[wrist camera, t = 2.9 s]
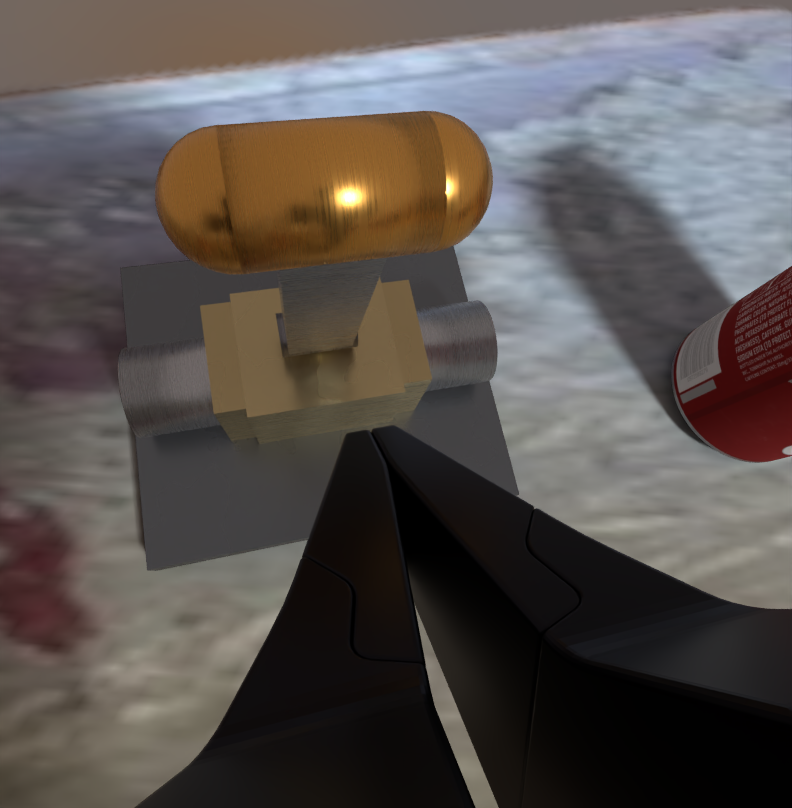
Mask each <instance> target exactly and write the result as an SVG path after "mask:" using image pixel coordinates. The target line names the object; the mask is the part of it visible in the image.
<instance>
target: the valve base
mask: <svg viewBox="0 0 792 808" xmlns="http://www.w3.org/2000/svg"><path fill="white" fill-rule="evenodd" d="M120 270H121V281H122V292H123V303H124V315H125V326H126V337H127V348H123V349H122V350H121V351H120V354H119V358H118V381H119V389H120V395H121V400H122V404H123V408H124V411H125V414H126V417H127V420H128V422H129V425H130V427H131V429H132V430H133V432H134V433H135V438H136V450H137V461H138V472H139V483H140V495H141V506H142V517H143V528H144V540H145V551H146V562H147V570H154V571H157V570H162V569H167V568H172V567H176V566H181V565H186V564H191V563H196V562H201V561H206V560H211V559H216V558H220V557H225V556H230V555H235V554H240V553H245V552H250V551H255V550H259V549H264V548H269V547H274V546H279V545H284V544H289V543H294V542H299V541H303V540H308V538H309V535H310V533H311V530H312V527H313V524H314V521H315V518H316V516H317V513H318V510H319V507H320V504H321V501H322V499H323V496H324V493H325V490H326V487H327V484H328V482H329V479H330V476H331V473H332V470H333V468H334V465H335V462H336V459H337V456H338V453H339V451H340V448H341V445H342V442H343V439H344V437H345V435H346V434H347V433H349V432H355V431H361V430H369V431H370V432H371V431H372V429H374V428H378V427H384V426H389V425H395V426H397V427H399V428H401V429H403V430H404V431H406V432H408V433H409V434H411V435H413V436H414V437H416V438H418V439H420V440H421V441H423V442H425V443H426V444H428V445H430V446H432V447H433V448H435V449H437V450H438V451H440V452H442V453H444V454H445V455H447V456H449V457H450V458H452V459H454V460H456V461H457V462H459V463H461V464H462V465H464V466H466V467H467V468H469V469H471V470H473V471H474V472H476V473H478V474H479V475H481V476H483V477H485V478H486V479H488V480H490V481H491V482H493V483H495V484H497V485H498V486H500V487H502V488H503V489H505V490H507V491H508V492H510V493H512V494H514V495H515V496H516V495H519V491H518V488H517V484H516V480H515V476H514V473H513V469H512V465H511V461H510V457H509V454H508V450H507V446H506V442H505V439H504V435H503V431H502V427H501V424H500V420H499V416H498V412H497V408H496V405H495V401H494V397H493V393H492V390H491V386H490V382H489V381H490V380H491V379H492V378H493V376H494V374H495V371H496V366H497V340H496V334H495V329H494V325H493V321H492V318H491V315H490V313H489V311H488V309H487V307H486V306H485V305H484V304H483V303H482V302H481V301H479V300H476V301H469V302H468V299H467V295H466V292H465V288H464V284H463V280H462V276H461V273H460V269H459V265H458V261H457V258H456V254H455V250H454V246H451V247H449V248H447V249H444V250H440V251H435V252H430V253H421V254H412V255H404V256H395V257H387V260H386V262H385V265H384V267H383V270H382V272H381V275H380V277H379V280H378V282H377V285H376V287H375V290H374V292H373V295H372V297H371V300H370V302H369V305H368V307H367V310H366V313H365V315H364V318H363V320H362V323H361V325H360V328H359V330H358V347H353V348H346V349H339V350H332V351H325V352H318V353H312V354H305V355H298V356H291V357H284V358H283V356H282V350H281V344H280V338H279V332H278V326H277V320H276V314H275V313H282V310H281V302H280V293H279V285H278V277H277V270H275V271H266V272H258V273H249V274H225V273H219V272H215V271H212V270H210V269H207V268H204V267H202V266H200V265H199V264H197V263H195V262H194V261H192V260H189V261H180V262H170V263H161V264H152V265H143V266H134V267H125V268H120Z"/></svg>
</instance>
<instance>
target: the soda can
mask: <svg viewBox="0 0 792 808" xmlns="http://www.w3.org/2000/svg"><path fill="white" fill-rule="evenodd" d="M671 383H672V390H673V394H674V398H675V401H676V404H677V406H678V408H679V411H680V412H681V414H682V416H683V418H684V419H685V421H686V423H687V424H688V425H689V427H690V428H691V429H692V430H693V431H694V433H695V434H696V435H697V436H698V437H699V438H700V439H701V440H702V441H704V442H705V443H706V444H707V445H709V446H710V447H711V448H713V449H714V450H716V451H718V452H720V453H721V454H723V455H726V456H728V457H730V458H733V459H736V460H740V461H745V462H755V463H759V462H768V461H773V460H777V459H781V458H785V457H789V456H792V266H791V267H790V268H788V269H786V270H785V271H783V272H782V273H780V274H779V275H777V276H776V277H774V278H773V279H771V280H770V281H768V282H767V283H765V284H763V285H762V286H760V287H759V288H757V289H756V290H754V291H753V292H751V293H750V294H748V295H747V296H745V297H744V298H742V299H740V300H739V301H737V302H736V303H734V304H733V305H731V306H730V307H728V308H727V309H725V310H724V311H722V312H721V313H719V314H717V315H716V316H714V317H713V318H711V319H710V320H708V321H707V322H705V323H704V324H702V325H701V326H699V327H698V328H696V329H694V330H693V331H692V332H690V333H689V334H688V335H687V336H686V337H685V338H684V339H683V341H682V342H681V343H680V345H679V347H678V348H677V350H676V353H675V355H674V359H673V362H672V368H671Z"/></svg>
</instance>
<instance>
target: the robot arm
mask: <svg viewBox="0 0 792 808" xmlns="http://www.w3.org/2000/svg"><path fill="white" fill-rule="evenodd" d="M414 603H415V605H414ZM415 606H416V608H417V611H418V613H419V616H420V618H421V620H422V623H423V625H424V628H425V630H426V633H427V635H428V637H429V640H430V642H431V645H432V647H433V649H434V652H435V654H436V657H437V659H438V662H439V664H440V666H441V669H442V671H443V674H444V676H445V679H446V681H447V683H448V686H449V688H450V691H451V693H452V696H453V698H454V700H455V703H456V705H457V708H458V710H459V712H460V715H461V717H462V720H463V722H464V725H465V727H466V729H467V732H468V734H469V737H470V739H471V742H472V744H473V746H474V749H475V751H476V754H477V756H478V759H479V761H480V763H481V766H482V768H483V771H484V773H485V775H486V778H487V780H488V783H489V785H490V788H491V790H492V792H493V795H494V797H495V800H496V802H497V805H498V807H499V808H792V609H765V608H757V607H750V606H745V605H741V604H737V603H733V602H730V601H727V600H724V599H721V598H718V597H715V596H713V595H711V594H708V593H706V592H704V591H701V590H699V589H697V588H695V587H693V586H691V585H689V584H686V583H684V582H682V581H680V580H678V579H676V578H674V577H672V576H669V575H667V574H665V573H663V572H661V571H659V570H657V569H654V568H652V567H650V566H648V565H646V564H644V563H642V562H640V561H637V560H635V559H633V558H631V557H629V556H627V555H625V554H622V553H620V552H618V551H616V550H614V549H612V548H610V547H608V546H606V545H604V544H602V543H600V542H598V541H596V540H594V539H592V538H590V537H588V536H586V535H584V534H582V533H580V532H578V531H577V530H575V529H573V528H571V527H569V526H568V525H566V524H564V523H562V522H560V521H559V520H557V519H555V518H553V517H552V516H550V515H548V514H546V513H545V512H543V511H541V510H540V509H537V508H536V509H534V507H533V506H532V505H531V504H529V503H527V502H526V501H524V500H522V499H520V498H519V497H517V496H515V495H514V494H512V493H510V492H508V491H507V490H505V489H503V488H502V487H500V486H498V485H497V484H495V483H493V482H491V481H490V480H488V479H486V478H485V477H483V476H481V475H479V474H478V473H476V472H474V471H473V470H471V469H469V468H467V467H466V466H464V465H462V464H461V463H459V462H457V461H456V460H454V459H452V458H450V457H449V456H447V455H445V454H444V453H442V452H440V451H438V450H437V449H435V448H433V447H432V446H430V445H428V444H426V443H425V442H423V441H421V440H420V439H418V438H416V437H414V436H413V435H411V434H409V433H408V432H406V431H404V430H403V429H401V428H399V427H397V426H395V425H389V426H384V427H378V428H374V429H372V431H371V432H370V431H369V430H361V431H355V432H349V433H347V434H346V435H345V437H344V439H343V442H342V445H341V448H340V451H339V453H338V456H337V459H336V462H335V465H334V468H333V470H332V473H331V476H330V479H329V482H328V484H327V487H326V490H325V493H324V496H323V499H322V501H321V504H320V507H319V510H318V513H317V516H316V518H315V521H314V524H313V527H312V530H311V533H310V535H309V538H308V541H307V544H306V547H305V550H304V552H303V555H302V559H301V560H300V563H299V566H298V569H297V571H296V574H295V577H294V580H293V582H292V584H291V587H290V589H289V592H288V594H287V597H286V599H285V602H284V604H283V606H282V608H281V610H280V612H279V614H278V616H277V618H276V620H275V622H274V624H273V626H272V628H271V630H270V632H269V634H268V636H267V638H266V640H265V642H264V644H263V646H262V647H261V649H260V651H259V653H258V655H257V657H256V659H255V660H254V662H253V664H252V666H251V668H250V670H249V672H248V673H247V675H246V677H245V679H244V681H243V683H242V685H241V686H240V688H239V690H238V692H237V694H236V696H235V698H234V699H233V701H232V703H231V705H230V707H229V709H228V711H227V712H226V714H225V716H224V718H223V720H222V721H221V723H220V725H219V727H218V728H217V730H216V732H215V733H214V735H213V736H212V738H211V739H210V740H209V742H208V743H207V744H206V746H205V747H204V748H203V750H202V751H201V752H200V753H199V755H198V756H197V757H196V758H195V759H194V760H193V761H192V762H191V763H190V764H189V765H188V766H187V767H186V768H184V769H183V770H182V771H181V772H179V773H178V774H177V775H176V776H174V777H173V778H172V779H170V780H169V781H168V782H167V783H165V784H164V785H163V786H162V787H160V788H159V789H158V790H156V791H155V792H154V793H153V794H151V795H150V796H149V797H147V798H146V799H145V800H144V801H142V802H141V803H140V804H138V805H137V806H136V807H135V808H475V805H474V803H473V800H472V798H471V795H470V793H469V790H468V788H467V785H466V783H465V780H464V778H463V776H462V773H461V771H460V768H459V766H458V763H457V761H456V758H455V756H454V753H453V751H452V748H451V746H450V743H449V741H448V738H447V736H446V733H445V731H444V728H443V726H442V723H441V721H440V718H439V716H438V713H437V711H436V708H435V706H434V701H433V697H432V693H431V689H430V684H429V680H428V675H427V670H426V664H425V658H424V653H423V648H422V642H421V637H420V632H419V626H418V621H417V616H416V610H415Z"/></svg>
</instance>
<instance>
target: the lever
mask: <svg viewBox="0 0 792 808" xmlns="http://www.w3.org/2000/svg"><path fill="white" fill-rule="evenodd" d="M492 186H493V175H492V167H491V163H490V159H489V156H488V153H487V151H486V148H485V146H484V145H483V143H482V142H481V140H480V139H479V137H478V136H477V134H476V133H475V132H474V131H473V130H472V129H471V128H470V127H468V126H467V125H466V124H465V123H464V122H462V121H460V120H459V119H457V118H455V117H453V116H451V115H447V114H444V113H440V112H436V111H417V112H403V113H388V114H373V115H359V116H344V117H330V118H315V119H301V120H286V121H271V122H257V123H242V124H228V125H215V126H209V127H203V128H200V129H198V130H195V131H193V132H191V133H188V134H187V135H186V136H184V137H183V138H181V139H180V140H179V141H177V142H176V143H175V144H174V146H173V147H172V148H171V149H170V150H169V151H168V153H167V154H166V156H165V158H164V160H163V162H162V164H161V166H160V167H159V171H158V175H157V179H156V187H155V201H156V207H157V212H158V216H159V219H160V221H161V223H162V225H163V227H164V229H165V231H166V233H167V235H168V237H169V238H170V239H171V241H172V242H173V243H174V245H175V246H176V247H177V249H179V250H180V251H181V252H182V253H183V254H184V255H185V256H186V257H188V258H189V259H190V260H192V261H194V262H195V263H197V264H199V265H200V266H202V267H204V268H207V269H210V270H212V271H215V272H219V273H225V274H249V273H258V272H266V271H275V270H277V277H278V285H279V293H280V302H281V310H282V313H275V314H276V320H277V326H278V332H279V338H280V344H281V350H282V356H283V358H284V357H291V356H298V355H305V354H312V353H318V352H325V351H332V350H339V349H346V348H353V347H358V330H359V328H360V325H361V323H362V320H363V318H364V315H365V313H366V310H367V307H368V305H369V302H370V300H371V297H372V295H373V292H374V290H375V287H376V285H377V282H378V280H379V277H380V275H381V272H382V270H383V267H384V265H385V262H386V260H387V257H395V256H404V255H412V254H421V253H430V252H435V251H440V250H444V249H447V248H449V247H451V246H454V245H456V244H458V243H459V242H461V241H462V240H463V239H465V238H466V237H467V236H469V234H470V233H471V232H472V231H473V230H474V229H475V228H476V227H477V226H478V225H479V223H480V221H481V219H482V218H483V216H484V214H485V212H486V210H487V208H488V205H489V201H490V198H491V193H492Z"/></svg>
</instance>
